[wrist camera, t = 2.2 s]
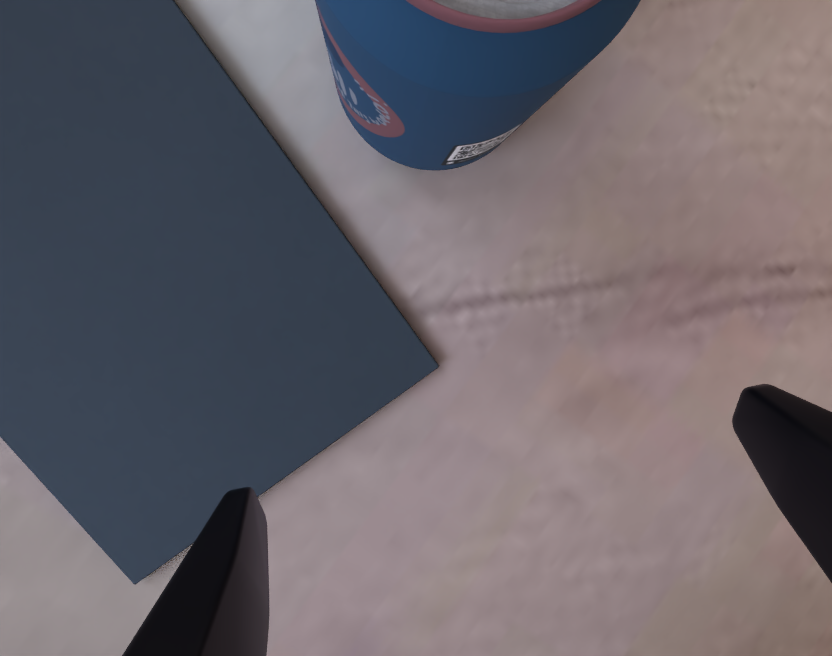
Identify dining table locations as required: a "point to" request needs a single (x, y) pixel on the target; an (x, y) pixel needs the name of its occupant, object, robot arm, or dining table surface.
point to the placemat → (167, 282)
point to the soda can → (457, 68)
